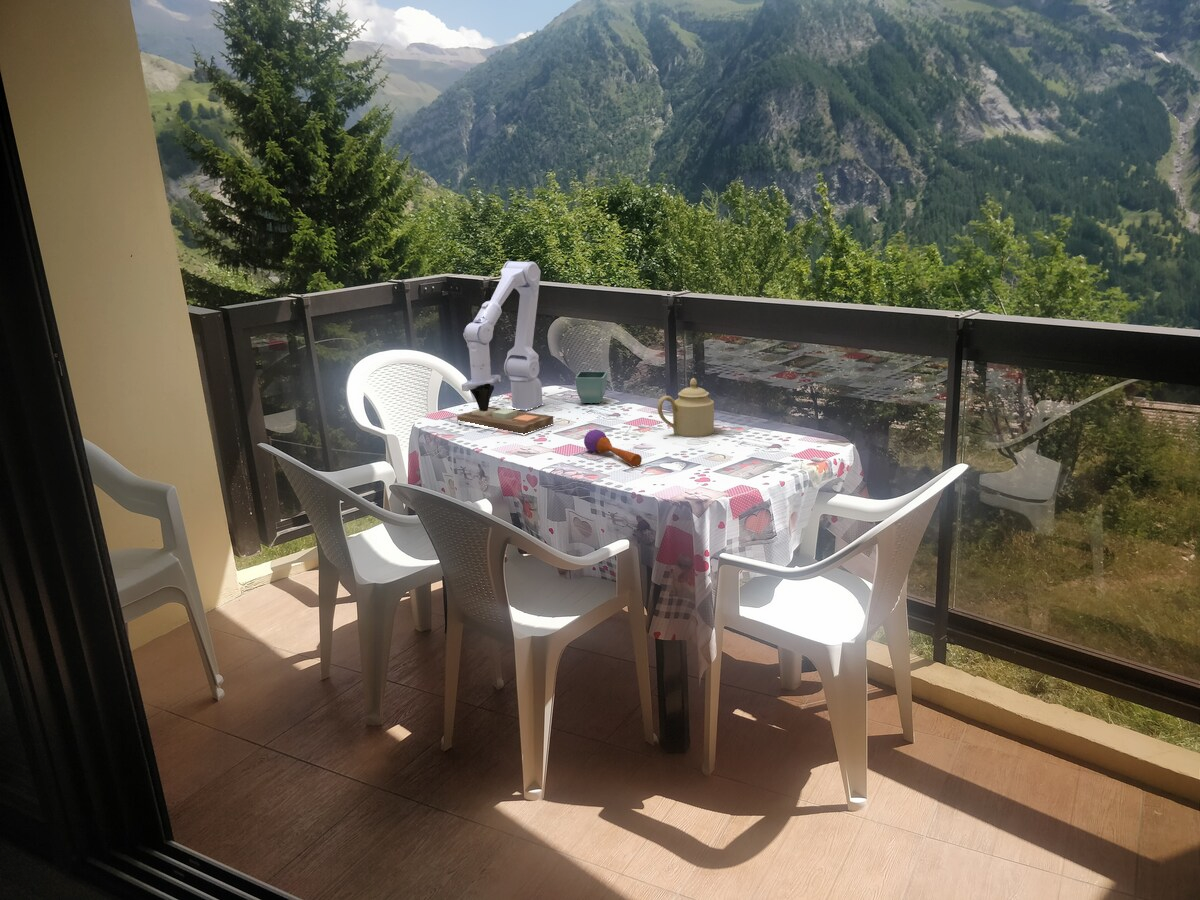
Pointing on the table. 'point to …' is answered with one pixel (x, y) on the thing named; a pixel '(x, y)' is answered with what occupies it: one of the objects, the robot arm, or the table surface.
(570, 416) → the table surface
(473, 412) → the cream button
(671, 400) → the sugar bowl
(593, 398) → the flower pot
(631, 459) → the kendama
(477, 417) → the button panel
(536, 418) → the terracotta button
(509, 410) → the sage button
